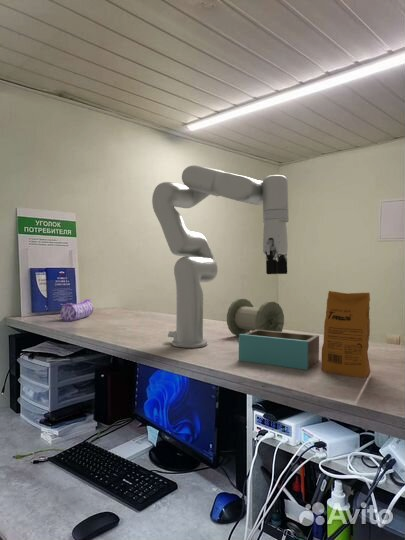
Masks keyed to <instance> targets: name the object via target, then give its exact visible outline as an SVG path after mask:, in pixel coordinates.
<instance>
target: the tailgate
mask: <svg viewBox="0 0 405 540" xmlns="http://www.w3.org/2000/svg"><path fill="white" fill-rule="evenodd" d="M308 350H309V341H306V340H296V339H286V338H276V337H266V336H256V335H246V334H239V336H238V361H239V362H241V361H242V362H247V363H254V364H260V365H261V364H262V365H269V366H277V367H284V368H292V369H298V370H299V369H300V370H305V371H306V370H307V371H308V370H309V369H308Z"/></svg>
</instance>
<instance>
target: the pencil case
mask: <svg viewBox="0 0 405 540" xmlns="http://www.w3.org/2000/svg"><path fill="white" fill-rule="evenodd" d="M93 312H94V305H93V302H91V298H86V299H85V300H83V301H81V302H79V303H72V302H66V304H64V305H63V306H62V307H61V309H60V312H59V315H60V317H61V319H62V320H63V321H65V322H74V321H76V320H80V319H83V318H84V319H85V318H86V317H89V316H91V315H92V314H93Z"/></svg>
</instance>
